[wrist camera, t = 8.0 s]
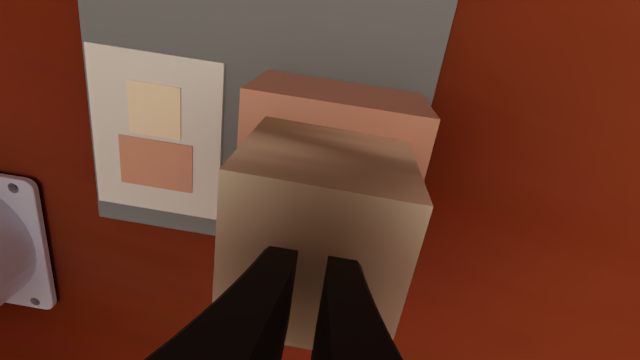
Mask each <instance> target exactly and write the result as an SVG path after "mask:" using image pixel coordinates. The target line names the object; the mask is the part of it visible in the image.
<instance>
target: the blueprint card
mask: <svg viewBox="0 0 640 360" xmlns="http://www.w3.org/2000/svg"><path fill="white" fill-rule="evenodd" d="M84 51H85V62H86V72H87V82H88V92H89V102H90V113H91V123H92V133H93V143H94V153H95V164H96V174H97V184H98V194H99V200H100V201H106V202H112V203H118V204H124V205H130V206H136V207H142V208H148V209H154V210H160V211H166V212H172V213H178V214H184V215H190V216H196V217H202V218H208V219H214V220H216V218H217V198H218V179H219V169H220V167H221V164H222V139H223V114H224V89H225V64H226V63H223V62H216V61H210V60H204V59H197V58H191V57H184V56H178V55H171V54H165V53H159V52H152V51H146V50H139V49H133V48H126V47H120V46H114V45H107V44H101V43H94V42H88V41H85V42H84Z"/></svg>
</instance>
